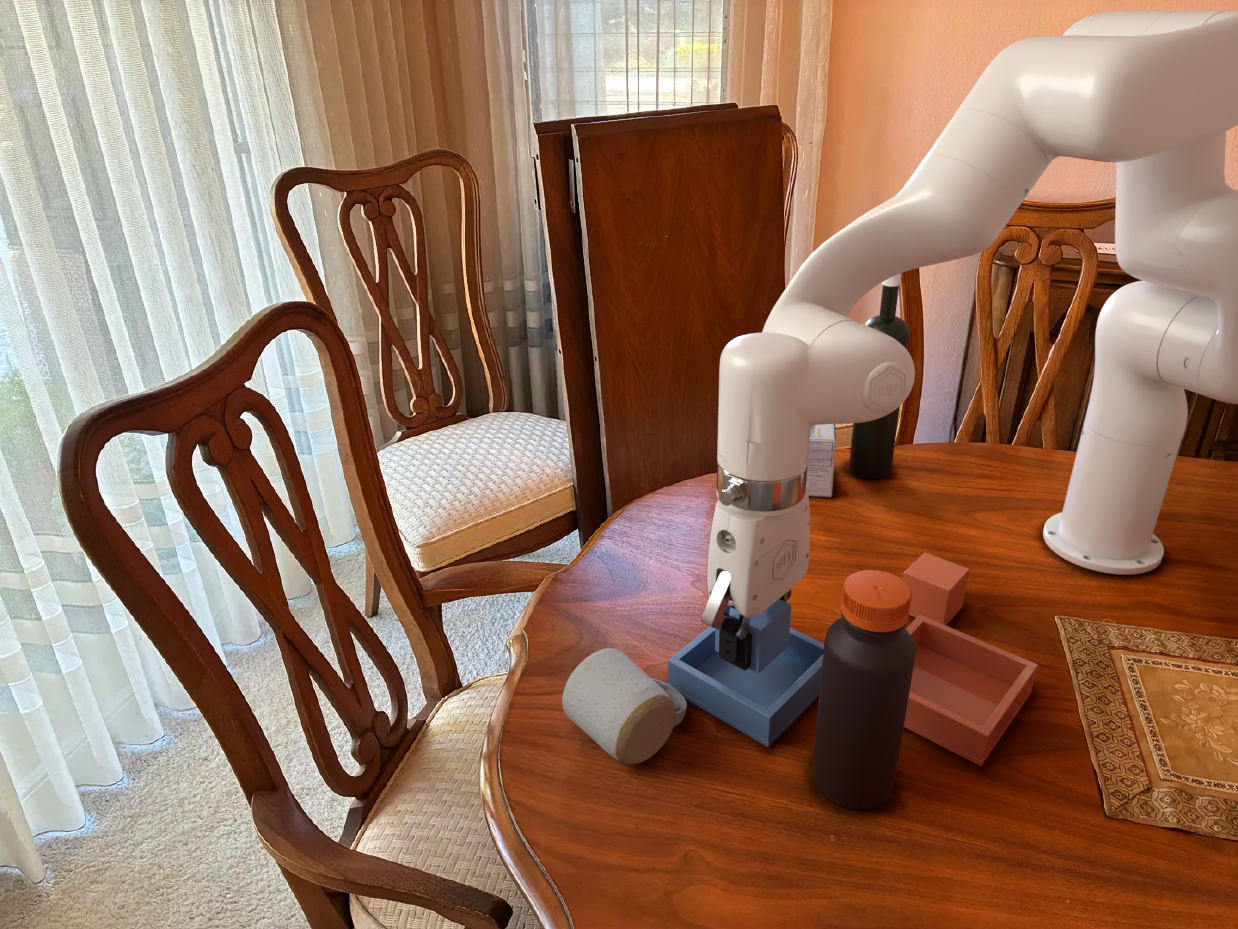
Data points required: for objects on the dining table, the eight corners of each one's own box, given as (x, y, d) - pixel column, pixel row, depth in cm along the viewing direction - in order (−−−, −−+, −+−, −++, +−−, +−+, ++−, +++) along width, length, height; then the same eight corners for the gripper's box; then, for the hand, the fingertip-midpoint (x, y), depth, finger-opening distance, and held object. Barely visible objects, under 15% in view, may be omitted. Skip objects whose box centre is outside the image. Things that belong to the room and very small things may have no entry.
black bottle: (910, 797, 71) (945, 603, 62) (840, 823, 69) (865, 627, 60) (862, 739, 77) (888, 554, 67) (796, 762, 75) (812, 574, 65)
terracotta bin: (914, 642, 88) (919, 614, 86) (1031, 693, 81) (1038, 664, 79) (858, 704, 81) (862, 674, 79) (981, 767, 74) (988, 736, 72)
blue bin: (737, 629, 91) (738, 602, 89) (835, 679, 84) (838, 650, 82) (667, 688, 83) (667, 660, 82) (768, 747, 76) (770, 718, 75)
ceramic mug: (620, 787, 73) (618, 719, 69) (562, 733, 79) (557, 668, 75) (707, 725, 79) (709, 661, 75) (647, 680, 85) (647, 618, 81)
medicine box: (831, 499, 114) (837, 440, 110) (797, 496, 115) (801, 438, 110) (831, 470, 120) (836, 414, 116) (798, 468, 121) (802, 413, 117)
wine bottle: (899, 476, 118) (927, 260, 104) (860, 482, 117) (884, 265, 103) (878, 458, 123) (903, 249, 109) (841, 463, 122) (861, 254, 108)
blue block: (745, 625, 85) (747, 583, 82) (788, 646, 82) (791, 604, 79) (714, 650, 81) (715, 608, 79) (758, 674, 78) (761, 630, 76)
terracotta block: (918, 589, 96) (924, 551, 93) (962, 606, 93) (969, 568, 90) (898, 610, 93) (903, 572, 90) (942, 629, 90) (949, 590, 87)
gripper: (738, 537, 65) (731, 715, 74) (851, 456, 76) (833, 620, 84) (662, 505, 70) (664, 676, 78) (779, 433, 80) (769, 590, 89)
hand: (752, 645), depth 81 cm, fingers closed on blue block, 5 cm apart
